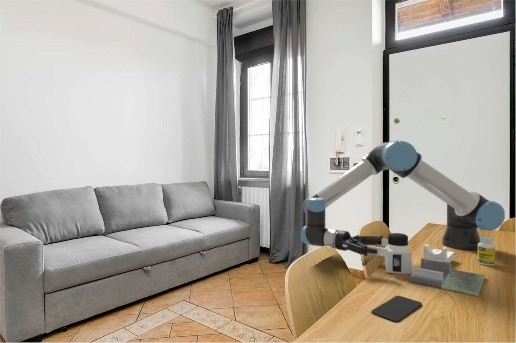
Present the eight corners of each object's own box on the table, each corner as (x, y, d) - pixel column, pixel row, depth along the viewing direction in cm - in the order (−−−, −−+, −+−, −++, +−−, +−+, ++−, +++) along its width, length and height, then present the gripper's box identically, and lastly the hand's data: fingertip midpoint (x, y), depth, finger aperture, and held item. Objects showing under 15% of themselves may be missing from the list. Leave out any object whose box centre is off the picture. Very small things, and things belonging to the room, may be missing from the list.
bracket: (445, 269, 119) (445, 248, 119) (423, 265, 124) (423, 245, 124) (454, 261, 129) (454, 241, 128) (433, 257, 133) (434, 239, 133)
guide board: (423, 267, 121) (423, 256, 121) (484, 278, 110) (484, 266, 110) (409, 281, 107) (409, 269, 107) (478, 296, 96) (478, 282, 96)
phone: (369, 311, 86) (397, 294, 96) (369, 314, 86) (397, 297, 96) (397, 321, 81) (423, 302, 91) (397, 325, 81) (423, 305, 91)
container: (411, 274, 114) (412, 236, 113) (387, 273, 116) (387, 235, 115) (407, 267, 121) (407, 231, 121) (384, 266, 123) (384, 231, 123)
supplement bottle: (476, 264, 124) (476, 237, 124) (478, 260, 128) (479, 235, 128) (493, 267, 121) (494, 240, 120) (496, 263, 125) (496, 237, 124)
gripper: (351, 242, 142) (404, 251, 128) (323, 256, 122) (381, 268, 109) (351, 225, 141) (404, 231, 128) (322, 236, 122) (381, 245, 108)
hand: (394, 248), depth 118 cm, fingers open, 13 cm apart
